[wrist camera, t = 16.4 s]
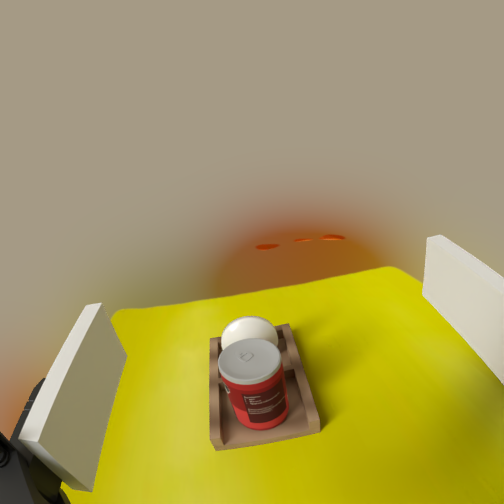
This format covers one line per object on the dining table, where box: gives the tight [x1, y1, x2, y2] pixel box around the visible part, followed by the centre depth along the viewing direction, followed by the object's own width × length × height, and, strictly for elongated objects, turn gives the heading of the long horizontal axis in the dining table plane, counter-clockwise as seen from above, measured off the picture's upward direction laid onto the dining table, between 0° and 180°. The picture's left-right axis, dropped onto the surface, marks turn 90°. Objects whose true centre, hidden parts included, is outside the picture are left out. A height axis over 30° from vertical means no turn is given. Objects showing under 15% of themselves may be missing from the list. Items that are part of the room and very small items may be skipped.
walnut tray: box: [209, 323, 320, 451], centre depth 47 cm, size 22×14×3 cm, turn 6°
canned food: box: [218, 338, 289, 431], centre depth 39 cm, size 8×8×11 cm
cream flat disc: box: [221, 316, 278, 350], centre depth 50 cm, size 1×9×9 cm, turn 96°
